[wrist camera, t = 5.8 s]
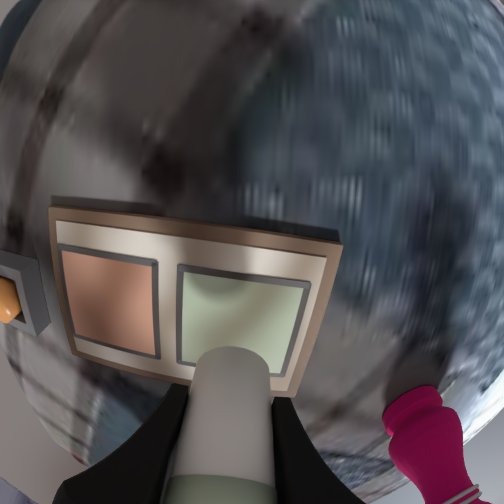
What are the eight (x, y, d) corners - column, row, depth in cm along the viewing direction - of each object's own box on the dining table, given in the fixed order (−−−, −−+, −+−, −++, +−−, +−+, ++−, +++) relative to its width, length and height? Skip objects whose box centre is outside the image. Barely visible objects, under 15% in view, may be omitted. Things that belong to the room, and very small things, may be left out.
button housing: (38, 259, 15) (19, 271, 13) (50, 322, 17) (36, 336, 15) (-2, 249, 15) (-18, 258, 13) (11, 306, 17) (-3, 318, 15)
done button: (18, 279, 14) (3, 290, 13) (27, 316, 15) (14, 328, 14) (-4, 272, 14) (-18, 281, 12) (5, 306, 15) (-8, 316, 14)
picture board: (340, 242, 15) (344, 246, 14) (293, 391, 19) (294, 399, 18) (53, 205, 14) (46, 207, 13) (75, 349, 18) (71, 355, 17)
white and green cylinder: (279, 352, 12) (296, 528, 4) (260, 401, 13) (262, 542, 5) (198, 337, 12) (154, 514, 4) (191, 389, 13) (161, 530, 5)
